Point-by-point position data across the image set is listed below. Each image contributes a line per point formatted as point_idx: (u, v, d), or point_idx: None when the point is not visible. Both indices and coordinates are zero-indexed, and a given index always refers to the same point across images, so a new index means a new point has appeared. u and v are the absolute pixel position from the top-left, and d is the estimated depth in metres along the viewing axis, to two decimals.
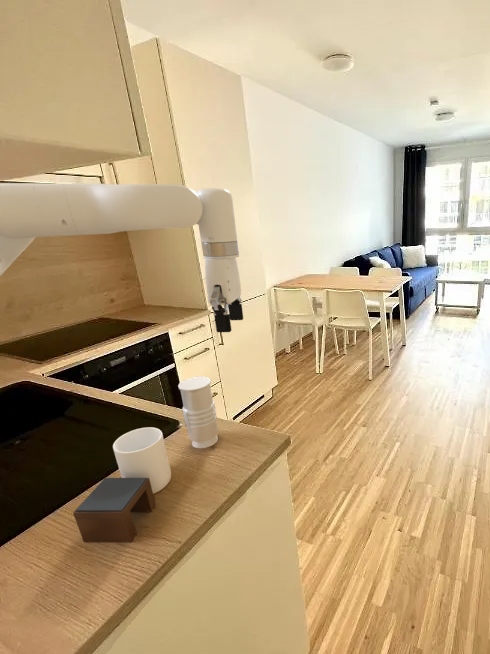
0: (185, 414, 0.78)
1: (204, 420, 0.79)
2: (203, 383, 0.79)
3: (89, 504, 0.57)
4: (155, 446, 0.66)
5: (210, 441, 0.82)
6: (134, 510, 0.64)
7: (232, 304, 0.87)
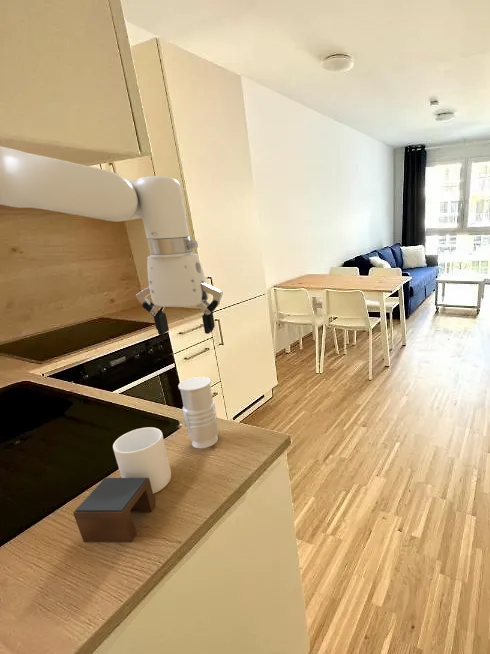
0: (185, 414, 0.78)
1: (204, 420, 0.79)
2: (203, 383, 0.79)
3: (89, 504, 0.57)
4: (155, 446, 0.66)
5: (210, 441, 0.82)
6: (134, 510, 0.64)
7: None
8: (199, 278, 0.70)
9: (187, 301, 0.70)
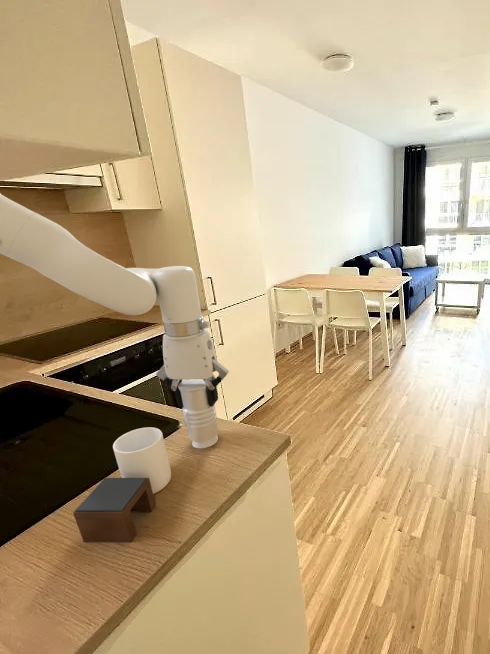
0: (185, 414, 0.78)
1: (204, 420, 0.79)
2: (203, 383, 0.79)
3: (89, 504, 0.57)
4: (155, 446, 0.66)
5: (210, 441, 0.82)
6: (134, 510, 0.64)
7: None
8: (210, 354, 0.76)
9: (199, 375, 0.76)
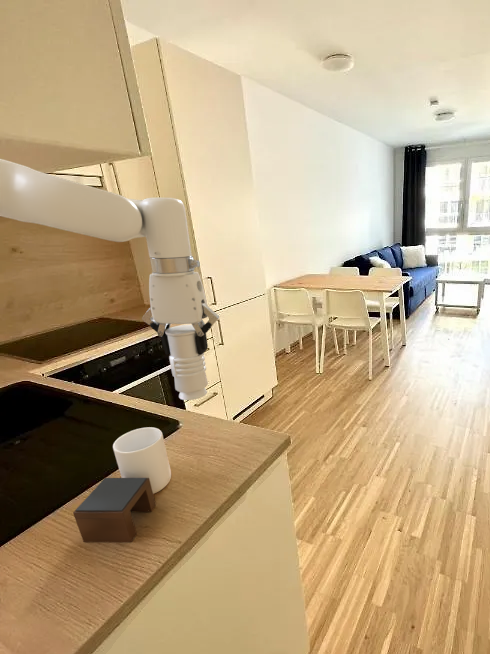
0: (172, 362, 0.74)
1: (192, 369, 0.75)
2: (192, 329, 0.74)
3: (89, 504, 0.57)
4: (155, 446, 0.66)
5: (198, 393, 0.78)
6: (134, 510, 0.64)
7: None
8: (200, 296, 0.71)
9: (187, 319, 0.71)
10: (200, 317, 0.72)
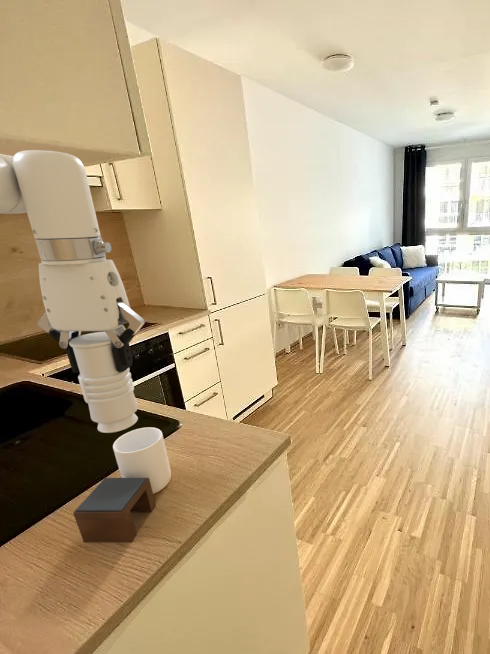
0: (81, 382, 0.54)
1: (110, 392, 0.55)
2: (107, 338, 0.55)
3: (89, 504, 0.57)
4: (155, 446, 0.66)
5: (122, 423, 0.58)
6: (134, 510, 0.64)
7: None
8: (114, 293, 0.52)
9: (97, 324, 0.52)
10: (115, 322, 0.52)
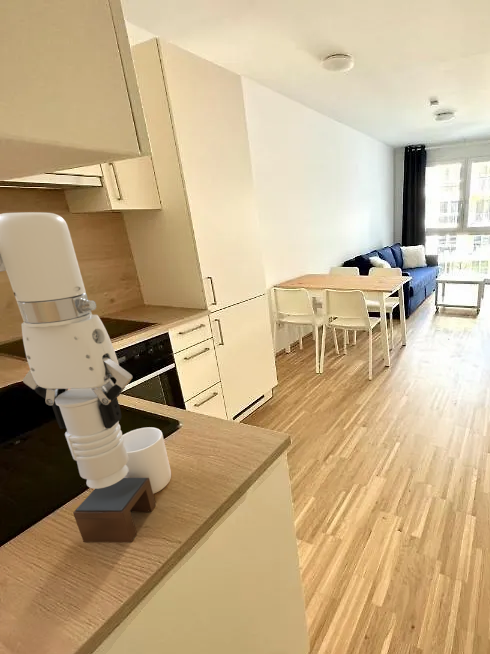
0: (68, 440, 0.53)
1: (97, 449, 0.53)
2: (95, 394, 0.53)
3: (89, 504, 0.57)
4: (155, 446, 0.66)
5: (112, 478, 0.57)
6: (134, 510, 0.64)
7: None
8: (99, 351, 0.50)
9: (83, 383, 0.50)
10: (101, 380, 0.50)
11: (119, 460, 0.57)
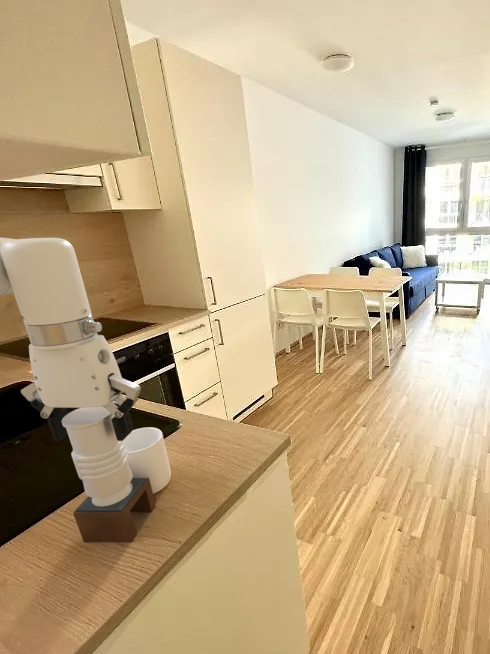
0: (74, 460, 0.54)
1: (103, 468, 0.55)
2: (100, 415, 0.54)
3: (89, 504, 0.57)
4: (155, 446, 0.66)
5: (117, 495, 0.58)
6: (134, 510, 0.64)
7: None
8: (105, 371, 0.51)
9: (88, 402, 0.51)
10: (106, 399, 0.51)
11: (124, 478, 0.58)
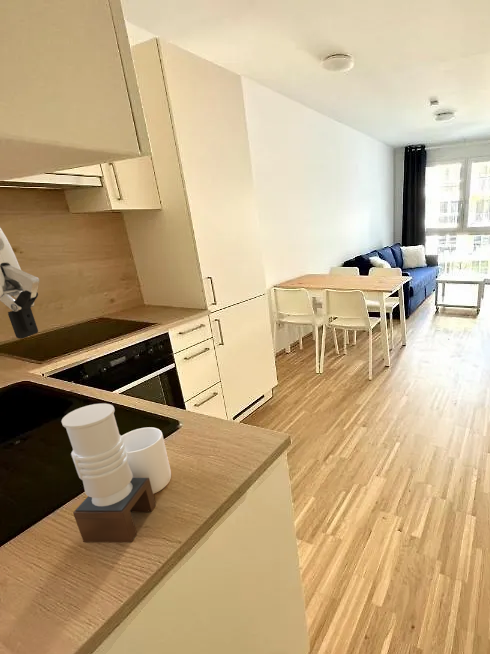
0: (74, 460, 0.54)
1: (103, 468, 0.55)
2: (100, 415, 0.54)
3: (89, 504, 0.57)
4: (155, 446, 0.66)
5: (117, 495, 0.58)
6: (134, 510, 0.64)
7: None
8: None
9: None
10: None
11: (124, 478, 0.58)
